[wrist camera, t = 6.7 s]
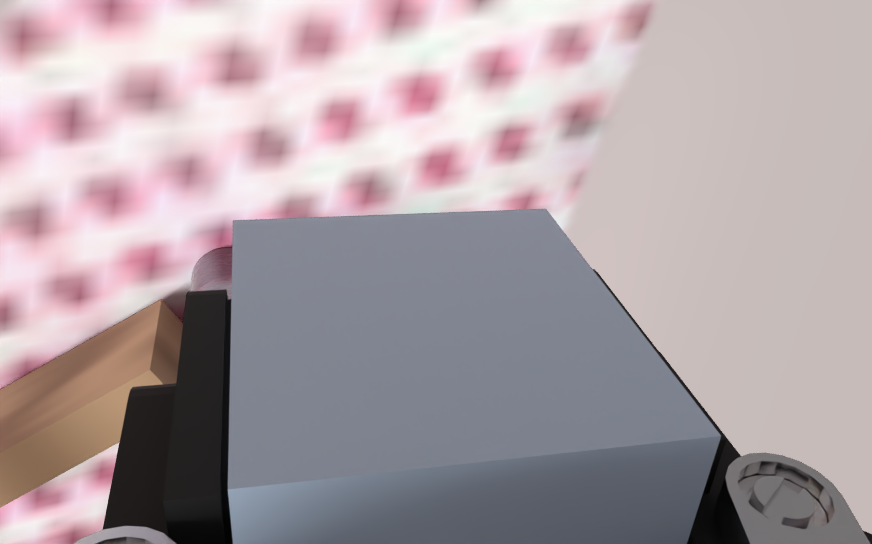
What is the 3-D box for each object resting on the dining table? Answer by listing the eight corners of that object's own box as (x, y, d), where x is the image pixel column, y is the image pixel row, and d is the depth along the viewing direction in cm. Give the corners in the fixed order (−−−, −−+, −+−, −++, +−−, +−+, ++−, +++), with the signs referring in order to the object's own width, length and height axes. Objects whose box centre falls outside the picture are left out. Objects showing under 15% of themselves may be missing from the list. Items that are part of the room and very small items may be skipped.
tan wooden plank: (157, 291, 25) (143, 377, 21) (195, 333, 26) (187, 423, 22) (-121, 448, 26) (-186, 560, 22) (-74, 483, 27) (-127, 596, 23)
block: (512, 439, 14) (631, 715, 10) (251, 466, 13) (256, 786, 9) (545, 208, 12) (720, 435, 7) (233, 220, 11) (228, 489, 6)
